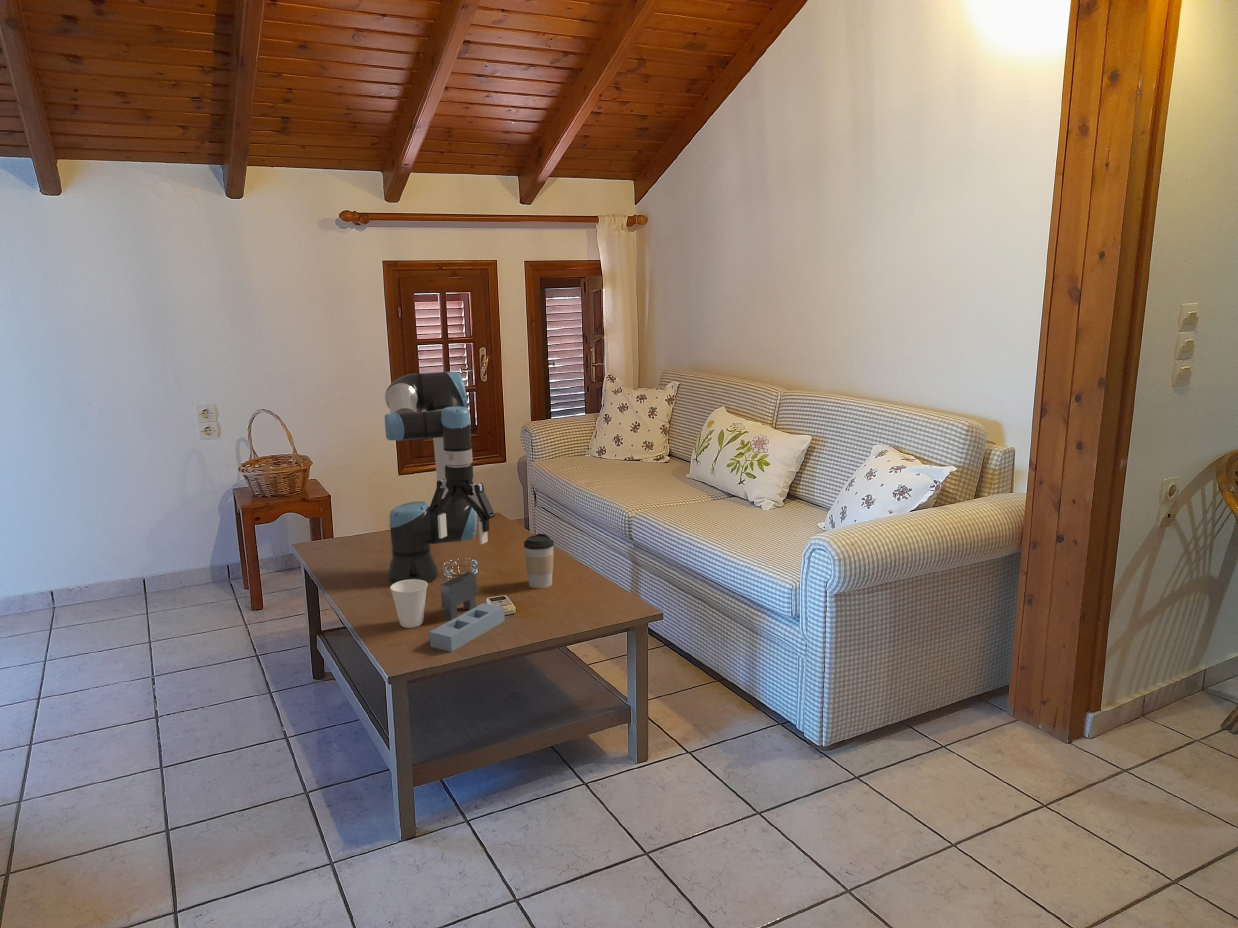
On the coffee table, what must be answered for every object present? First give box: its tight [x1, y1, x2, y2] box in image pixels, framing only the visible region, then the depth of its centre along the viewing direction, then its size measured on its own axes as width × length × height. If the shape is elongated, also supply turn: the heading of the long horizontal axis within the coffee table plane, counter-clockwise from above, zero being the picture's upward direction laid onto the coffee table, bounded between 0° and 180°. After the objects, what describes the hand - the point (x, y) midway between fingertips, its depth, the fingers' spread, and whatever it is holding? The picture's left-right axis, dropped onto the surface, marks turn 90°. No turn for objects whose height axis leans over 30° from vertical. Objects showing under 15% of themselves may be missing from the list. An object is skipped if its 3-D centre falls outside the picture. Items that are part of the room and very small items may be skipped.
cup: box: [389, 579, 429, 629], centre depth 239 cm, size 10×10×11 cm
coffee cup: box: [523, 533, 555, 589], centre depth 266 cm, size 9×9×15 cm
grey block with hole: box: [428, 602, 506, 653], centre depth 232 cm, size 7×22×4 cm, turn 150°
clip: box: [440, 571, 478, 621], centre depth 246 cm, size 3×12×10 cm, turn 150°
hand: (463, 540), depth 243 cm, fingers open, 13 cm apart
